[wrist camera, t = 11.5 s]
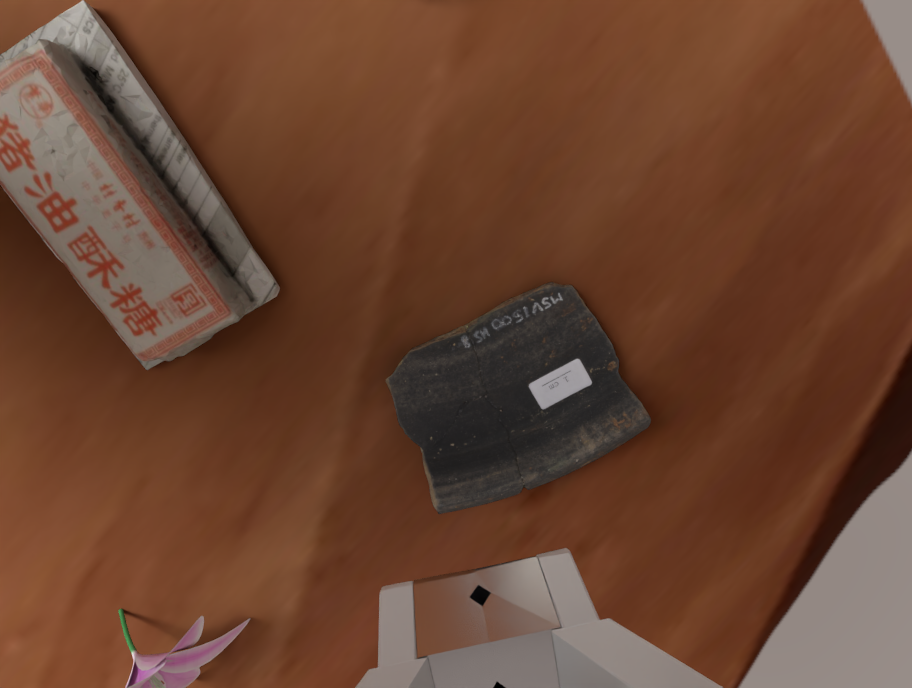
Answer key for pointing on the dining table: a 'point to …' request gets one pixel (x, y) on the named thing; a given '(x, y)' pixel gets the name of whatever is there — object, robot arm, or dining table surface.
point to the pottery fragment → (514, 399)
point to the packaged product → (121, 191)
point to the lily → (175, 658)
